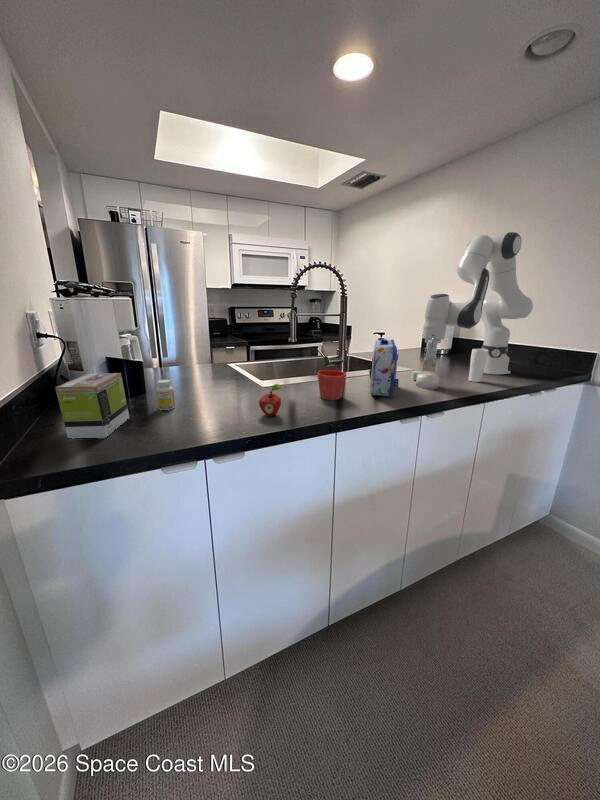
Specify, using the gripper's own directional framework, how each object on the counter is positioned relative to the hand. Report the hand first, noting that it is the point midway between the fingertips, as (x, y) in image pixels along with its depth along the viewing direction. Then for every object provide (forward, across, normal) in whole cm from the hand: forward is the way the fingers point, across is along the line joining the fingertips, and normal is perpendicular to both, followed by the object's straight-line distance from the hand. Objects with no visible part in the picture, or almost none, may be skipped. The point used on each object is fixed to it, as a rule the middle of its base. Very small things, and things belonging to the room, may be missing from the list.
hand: (429, 366), depth 138 cm
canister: (+9, 0, 0) cm, 9 cm away
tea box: (+10, -91, +85) cm, 125 cm away
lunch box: (+9, -17, +17) cm, 26 cm away
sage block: (+9, +11, +5) cm, 15 cm away
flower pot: (+9, -34, +34) cm, 49 cm away
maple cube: (+2, 0, 0) cm, 2 cm away
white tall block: (+9, +20, -21) cm, 30 cm away
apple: (+9, -61, +46) cm, 77 cm away
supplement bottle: (+9, -70, +81) cm, 107 cm away
